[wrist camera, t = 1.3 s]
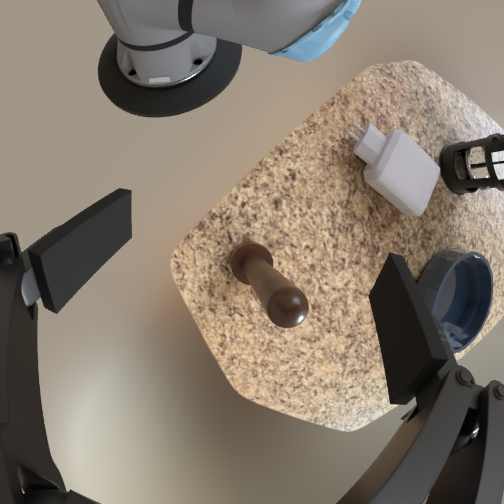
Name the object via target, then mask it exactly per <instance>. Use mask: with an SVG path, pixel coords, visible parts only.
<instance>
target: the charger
mask: <svg viewBox="0 0 504 504" xmlns="http://www.w3.org/2000/svg"><path fill="white" fill-rule="evenodd" d="M352 125H353V126H355V127H356V128H357V129H358V130H360V131H361V132H362V133H361V134H360V136H359V138H358V137H356V136H355V135H354V134H353V133H351V132H350V131H347V134H348V135H349V136H351V137H352V138H353V139H355V140H356V141H357V142H356V143H355V146H354V149H353V152H354V153H355V154H356V155H357V156H359V157H360V158H361V159H363V160H364V161H365V162H366V163H367V165H366V167H365V168H364V171H363V174H364V179H365V182H366V183H367V184H369V185H370V186H371V187H372V188H373V189H375V190H376V191H377V192H378V193H379V194H381V195H382V196H383V197H384V198H385V199H387V200H388V201H389V202H390V203H391V204H392V205H394V206H395V207H396V208H397V209H398V210H399V211H400V212H401V213H403V214H404V215H405V216H406V217H419V216H421V215H422V213H423V212H424V210H425V209H426V207H427V204H428V202H429V199H430V197H431V195H432V192H433V190H434V187H435V185H436V182H437V180H438V177H439V174H440V167H439V166H438V165H437V164H436V163H435V162H434V161H433V160H432V159H431V158H430V157H429V156H428V155H427V154H426V153H425V152H424V151H423V150H422V149H421V148H420V147H419V146H418V145H417V144H416V143H415V142H414V141H413V140H412V139H411V138H410V137H409V136H408V135H407V134H406V133H405V132H404V131H403V130H402V129H400V130H392V131H390V132H388V133H386V134H383V133H382V132H381V131H379V130H378V129H377V128H376V127H375V126H373V125H372V124H371V123H369V124H368V125H367V126H366V127H365V129H363V128H361V127H360V126H359V125H357V124H356V123H355V122H353V123H352Z"/></svg>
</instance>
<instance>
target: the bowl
mask: <svg viewBox="0 0 504 504" xmlns="http://www.w3.org/2000/svg"><path fill="white" fill-rule="evenodd" d="M417 286H418V288H419V290H420V292H421V294H422V296H423V298H424V300H425V303H426V305H427V307H428V309H429V311H430V314H431V315H434V316H435V317H436V318H437V319H438V321H439V322H440V323H441V325H442V327H443V330H444V332H445V333H444V334H446V337H447V339H448V341H447V342H449V344H450V347H451V349H452V352H453V354H456V353H458V352H460V351H462V350H464V349H465V348H466V347H467V346H468V345H469V344H471V343H472V342H473V341H474V339H475V338H476V337H477V335H478V334H479V332H480V331H481V329H482V328H483V326H484V323H485V321H486V319H487V317H488V314H489V311H490V307H491V303H492V297H493V287H494V286H493V274H492V271H491V268H490V265H489V262H488V261H487V260H486V258H485V257H484V256H483V255H482V254H479V253H477V252H474V251H468V250H462V249H456V248H453V249H447V250H444V251H442V252H441V253H439V254H438V255H436V256H435V257H434V258H433V259H432V260H431V262H430V263H429V264H428V265H427V267H426V268H425V269H424V271H423V274H422V276H421V278H420V280H419V282H418V284H417Z"/></svg>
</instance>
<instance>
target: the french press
mask: <svg viewBox="0 0 504 504" xmlns="http://www.w3.org/2000/svg"><path fill="white" fill-rule="evenodd" d="M494 136H495V137H494ZM456 151H457V152H459V153H460V154H461V155H462V156H463V158H464V160H465V165H466V169H467V173H468V179H465V180H458V178H457V175H456V172H455V168H454V152H456ZM498 151H504V135H501V134H499V133H496V134H492V135H489V136H488V137H487V138H482V139H478V140H474V141H470V142H459V143H455V144H454V143H450V144H447V145H446V146H445V147H444V148H443V149H442V152H441V155H440V169H441V174H442V177H443V180H444V182H445V184H446V185H447V187H448V188H449V189H450V190H451V191H452V192H453V193H455V194H458V195H462V194H465V193H473V192H476V191H477V190H478V189H481V190H487V189H489V188H497V189H499V190H500V191H504V179H501V180H498V178H497V176H496V173H495V170H494V166H493V165H494V164H501V163H504V161H499V162H492V155H491V153H492V152H498Z"/></svg>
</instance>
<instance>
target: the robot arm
mask: <svg viewBox="0 0 504 504" xmlns="http://www.w3.org/2000/svg"><path fill="white" fill-rule="evenodd" d="M97 1H98V3H99V5H100V7H101V8H102V10H103V12H104V14H105V16H106V18H107V19H108V21H109V23H110V25H111V26H112V29H113V30H114V32H115V34H116V36H117V38H118V45H117V63H118V66H119V69H120V71H121V72H122V74H123V75H124V77H125V78H126V79H127V80H128V81H129V82H130V83H131V84H133V85H134V86H136V87H138V88H141V89H145V90H151V91H163V90H170V89H174V88H178V87H181V86H183V85H186V84H188V83H190V82H192V81H193V80H195V79H196V78H198V77H199V76H201V75H202V74H203V73H204V72H205V71H206V70H207V69H208V68H209V66H210V65H211V63H212V62H213V60H214V58H215V55H216V51H217V38H219V39H223V40H227V41H231V42H235V43H238V44H242V45H246V46H249V47H252V48H256V49H260V50H262V51H266V52H267V53H268V54H271V55H280V56H283V57H286V58H290V59H293V60H296V61H301V62H302V61H303V62H305V61H312V60H314V59H316V58H318V57H319V56H321V55H322V54H324V53H325V52H326V51H327V50H328V49H329V48H330V47H331V46H332V45H333V44H334V43H335V41H336V40H337V39H338V38H339V36H340V35H341V34H342V33H343V31H344V30H345V29H346V27H347V26H348V24H349V20H350V18H351V17H352V16H353V15H354V14H355V12H356V11H357V9H358V7H359V5H360V2H361V0H97ZM131 238H132V223H131V190H127V189H121V188H119V189H117V190H115V191H114V192H112V193H110V194H109V195H107V196H105V197H104V198H102V199H101V200H99V201H98V202H96V203H94V204H93V205H91V206H90V207H88V208H86V209H85V210H83V211H82V212H80V213H79V214H77V215H76V216H74V217H73V218H72V219H70V220H68V221H67V222H65V223H64V224H63V225H61V226H58V227H56V228H54V229H52V230H51V231H50V232H48V233H47V235H44V236H43V237H42V238H41V239H39V240H37V241H36V242H35V243H33V244H32V245H31V246H29V247H28V248H27V249H26V250H24V251H23V252H22V253H21V250H20V246H19V241H18V237H17V235H16V234H15V233H12V232H10V233H4V234H1V235H0V504H100V503H98V502H96V501H94V500H91V499H89V498H87V497H85V496H83V495H81V494H78V493H76V492H74V491H72V490H70V491H69V492H67V491H66V488H65V485H64V482H63V479H62V476H61V474H60V472H59V470H58V468H57V467H56V465H55V463H54V462H53V460H52V457H51V454H50V450H49V445H48V441H47V435H46V430H45V424H44V418H43V411H42V404H41V396H40V385H39V373H38V352H37V320H38V306H37V303H36V301H37V300H38V299H39V298H40V297H41V299H42V302H43V305H44V307H45V308H46V309H48V310H50V311H52V312H54V313H56V314H57V313H58V312H59V311H60V310H61V309H62V307H64V306H65V304H66V303H67V302H68V301H69V300H70V299H71V298H72V297H73V296H74V295H75V294H76V292H77V291H78V290H79V289H80V288H81V287H82V286H83V285H84V284H85V283H86V282H87V281H88V280H89V279H90V278H91V277H92V276H93V275H94V274H95V273H96V272H97V271H98V270H99V269H100V268H101V266H103V265H104V264H105V263H106V262H107V261H108V260H109V259H110V258H111V257H112V256H113V255H114V254H115V253H116V252H117V251H118V250H119V249H120V248H121V247H122V246H123V245H124V244H125V243H126V242H128V241H129V240H130V239H131ZM369 300H370V304H371V308H372V312H373V317H374V321H375V325H376V330H377V334H378V339H379V344H380V348H381V353H382V359H383V364H384V369H385V375H386V381H387V387H388V393H389V400H390V404H397V405H406V404H408V402H410V401H411V400H412V399H413V398H414V397H416V402H417V404H416V406H414V407H413V408H412V409H411V410H410V411H409V412H408V413H406V414H405V415H404V416H403V417H402V418H401V419H402V420H403V419H405V420H404V421H403V423H402V425H401V426H400V427H399V429H398V430H397V432H396V433H395V435H394V436H393V437H392V439H391V440H390V442H389V443H388V444H387V446H386V447H385V448H384V450H383V451H382V452H381V453H380V455H379V456H378V458H377V459H376V460H375V461H374V462H373V464H372V465H371V466H370V467H369V468H368V470H367V471H366V472H365V473H364V474H363V475H362V477H361V478H360V479H359V480H358V481H357V482H356V483H355V485H354V486H353V487H352V488H351V489H350V490H349V491H348V492H347V493H346V494H345V495H344V496H343V497H342V498H341V499H340V500H339V501H338V502H337V503H336V504H422V503H423V502H424V500H425V499H426V497H427V496H428V494H429V496H428V499H427V502H426V504H501V501H502V495H503V490H504V385H503V384H501V383H500V382H499V381H496V380H493V381H491V382H490V383H489V384H488V385H487V386H486V387H485V388H484V387H482V386H479V385H476V384H475V381H474V378H473V376H472V374H471V373H470V372H469V371H468V370H467V369H466V368H465V367H463V366H459V365H457V362H456V359H455V357H454V354H453V352H452V349H451V347H450V344H449V342H447V341H448V339H447V337H446V334H444V333H445V332H444V330H443V327H442V325H441V323H440V322H439V321H438V319H437V318H436V317H435V316H434V315H431V314H430V311H429V309H428V307H427V305H426V303H425V300H424V298H423V296H422V294H421V292H420V290H419V288H418V286H417V284H416V282H415V280H414V278H413V276H412V274H411V272H410V270H409V268H408V266H407V264H406V262H405V260H404V258H403V256H401V255H397V254H394V253H390V252H389V255H388V257H387V259H386V261H385V263H384V266H383V268H382V270H381V272H380V274H379V276H378V278H377V280H376V282H375V284H374V286H373V288H372V290H371V292H370V294H369ZM477 430H478V433H477V436H476V437H475V438H474V432H475V431H477ZM22 489H23V491H24V492H25V493H24V494H23V492H22ZM429 492H430V493H429Z"/></svg>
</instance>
